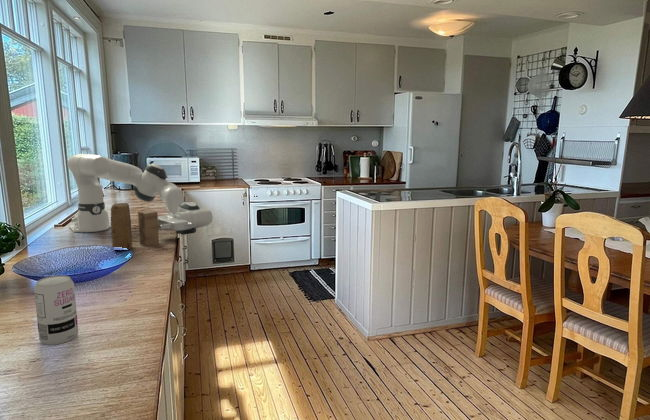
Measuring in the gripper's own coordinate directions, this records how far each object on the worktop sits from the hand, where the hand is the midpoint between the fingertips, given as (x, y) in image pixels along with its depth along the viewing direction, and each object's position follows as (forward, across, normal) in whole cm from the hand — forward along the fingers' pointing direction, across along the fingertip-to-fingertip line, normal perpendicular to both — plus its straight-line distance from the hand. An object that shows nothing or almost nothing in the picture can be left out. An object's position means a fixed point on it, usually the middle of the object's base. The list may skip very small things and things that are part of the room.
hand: (155, 225), depth 194 cm
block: (+15, 0, -8) cm, 17 cm away
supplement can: (+62, -71, -8) cm, 94 cm away
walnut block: (+3, 0, -8) cm, 9 cm away
